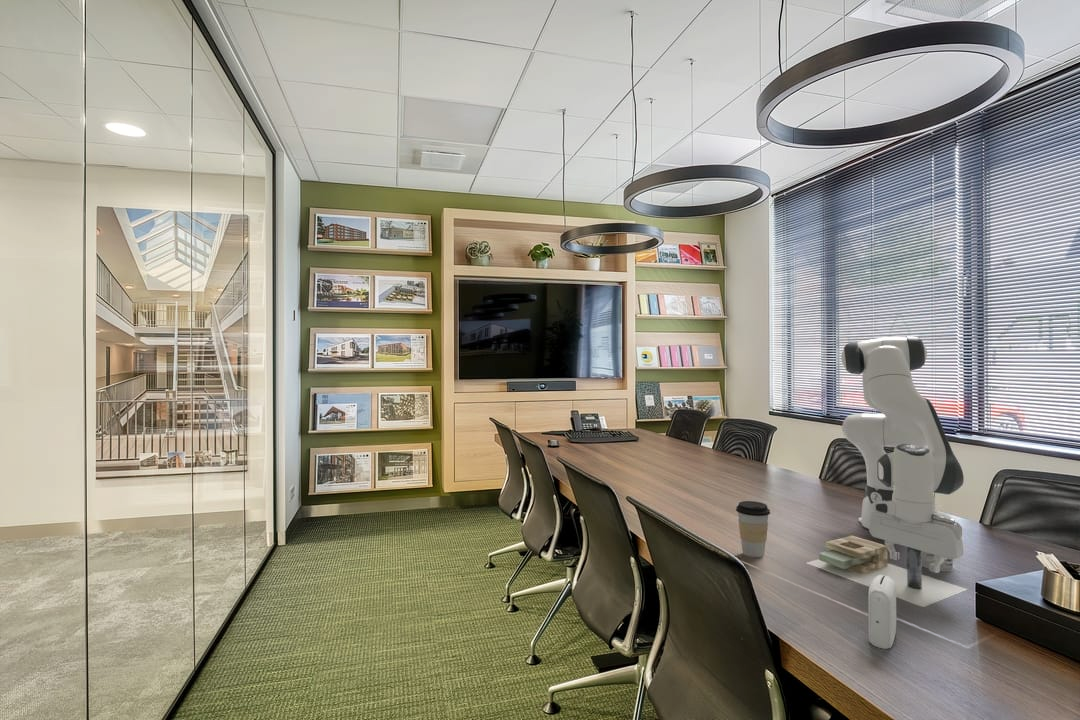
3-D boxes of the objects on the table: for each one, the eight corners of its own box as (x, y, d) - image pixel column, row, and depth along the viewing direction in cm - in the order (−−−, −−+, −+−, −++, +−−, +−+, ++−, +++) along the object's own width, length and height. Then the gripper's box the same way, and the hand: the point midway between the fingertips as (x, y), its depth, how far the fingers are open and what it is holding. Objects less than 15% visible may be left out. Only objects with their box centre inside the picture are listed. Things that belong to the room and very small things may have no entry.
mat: (849, 552, 156) (849, 550, 156) (968, 591, 129) (968, 589, 129) (805, 564, 147) (805, 562, 147) (923, 609, 120) (923, 607, 120)
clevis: (851, 554, 154) (851, 535, 154) (887, 565, 145) (887, 546, 145) (814, 564, 146) (814, 545, 146) (849, 577, 137) (849, 556, 137)
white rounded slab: (892, 652, 103) (891, 589, 103) (866, 644, 106) (866, 583, 106) (898, 631, 111) (897, 573, 111) (874, 624, 114) (873, 568, 114)
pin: (911, 583, 133) (911, 544, 133) (924, 587, 131) (924, 547, 131) (904, 585, 132) (904, 546, 132) (917, 590, 129) (917, 549, 129)
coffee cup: (755, 563, 148) (754, 510, 148) (729, 552, 157) (728, 502, 157) (777, 557, 153) (777, 506, 153) (751, 547, 161) (750, 498, 161)
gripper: (968, 519, 123) (969, 577, 123) (879, 499, 142) (880, 550, 142) (954, 523, 121) (955, 583, 120) (865, 502, 139) (865, 554, 139)
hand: (913, 565), depth 131 cm, fingers open, 8 cm apart
